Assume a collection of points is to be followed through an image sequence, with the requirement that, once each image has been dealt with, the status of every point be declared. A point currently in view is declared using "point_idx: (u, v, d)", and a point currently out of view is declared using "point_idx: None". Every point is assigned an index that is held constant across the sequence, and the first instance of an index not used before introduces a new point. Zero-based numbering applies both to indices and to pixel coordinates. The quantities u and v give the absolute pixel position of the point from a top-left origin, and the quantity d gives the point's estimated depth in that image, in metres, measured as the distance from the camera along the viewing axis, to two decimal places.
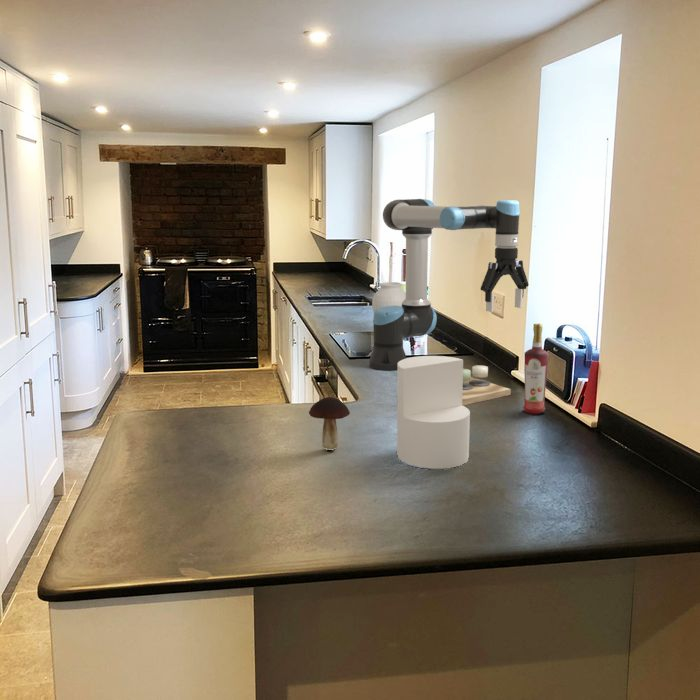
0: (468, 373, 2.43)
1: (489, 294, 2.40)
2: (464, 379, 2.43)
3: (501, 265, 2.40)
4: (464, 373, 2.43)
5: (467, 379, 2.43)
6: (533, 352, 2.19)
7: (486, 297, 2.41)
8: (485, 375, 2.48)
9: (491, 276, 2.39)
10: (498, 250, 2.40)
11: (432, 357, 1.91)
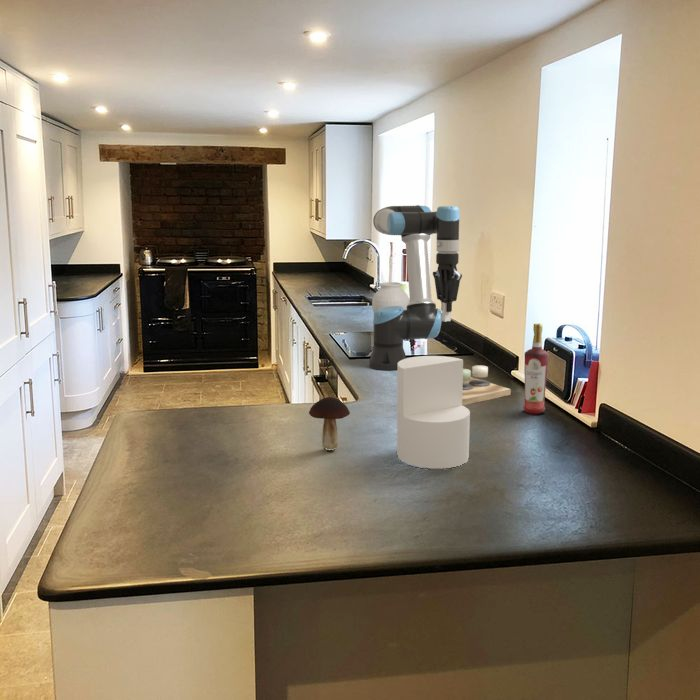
0: (468, 373, 2.43)
1: None
2: (464, 379, 2.43)
3: (438, 269, 2.47)
4: (464, 373, 2.43)
5: (467, 379, 2.43)
6: (533, 352, 2.19)
7: None
8: (485, 375, 2.48)
9: (436, 284, 2.49)
10: None
11: (432, 357, 1.91)
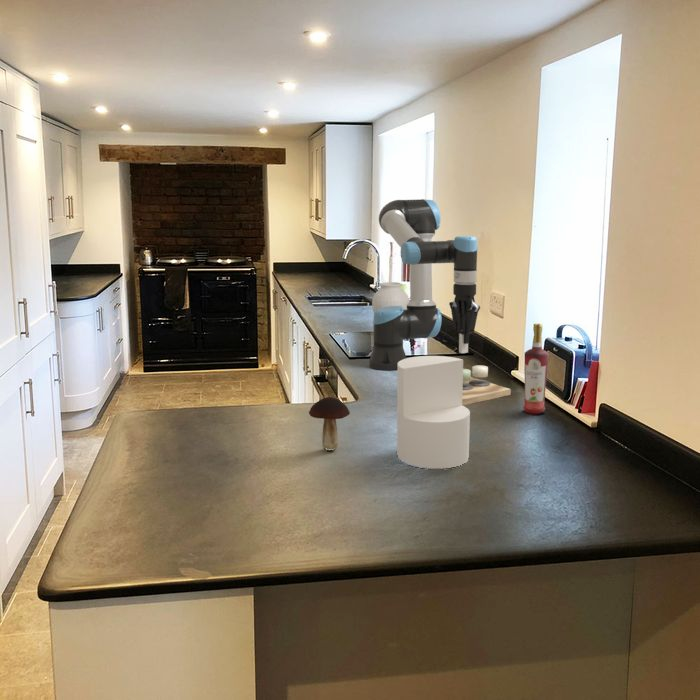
0: (468, 373, 2.43)
1: None
2: (464, 379, 2.43)
3: (455, 300, 2.42)
4: (464, 373, 2.43)
5: (467, 379, 2.43)
6: (533, 352, 2.19)
7: None
8: (485, 375, 2.48)
9: (453, 315, 2.44)
10: None
11: (432, 357, 1.91)
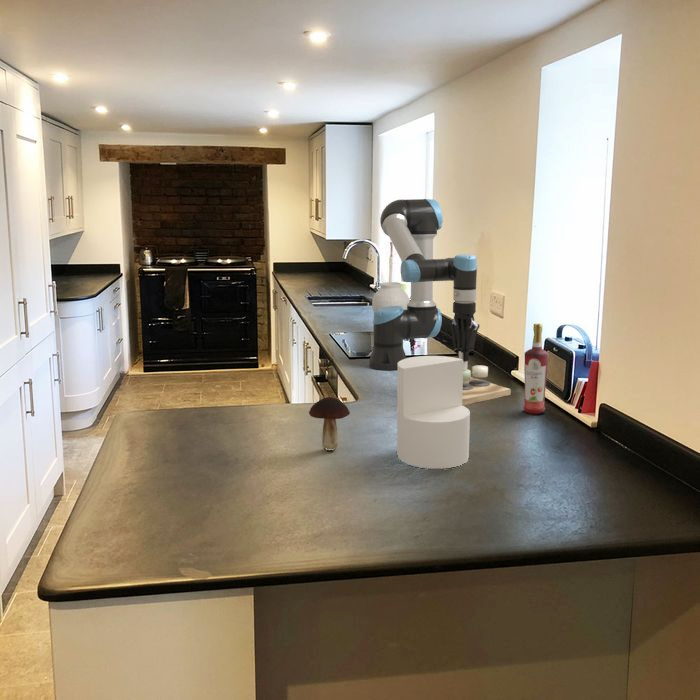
0: (468, 373, 2.43)
1: (459, 352, 2.44)
2: (464, 379, 2.43)
3: (455, 317, 2.43)
4: (464, 373, 2.43)
5: (467, 379, 2.43)
6: (533, 352, 2.19)
7: None
8: (485, 375, 2.48)
9: (452, 332, 2.45)
10: None
11: (432, 357, 1.91)
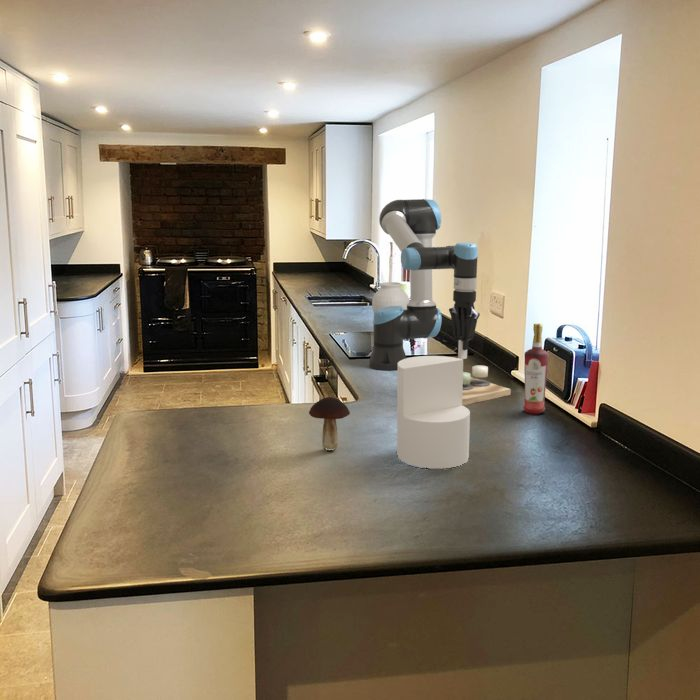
0: (468, 376, 2.43)
1: (458, 341, 2.44)
2: (464, 382, 2.43)
3: (455, 306, 2.42)
4: (464, 376, 2.43)
5: (467, 382, 2.44)
6: (533, 352, 2.19)
7: None
8: (485, 375, 2.48)
9: (452, 321, 2.44)
10: None
11: (432, 357, 1.91)
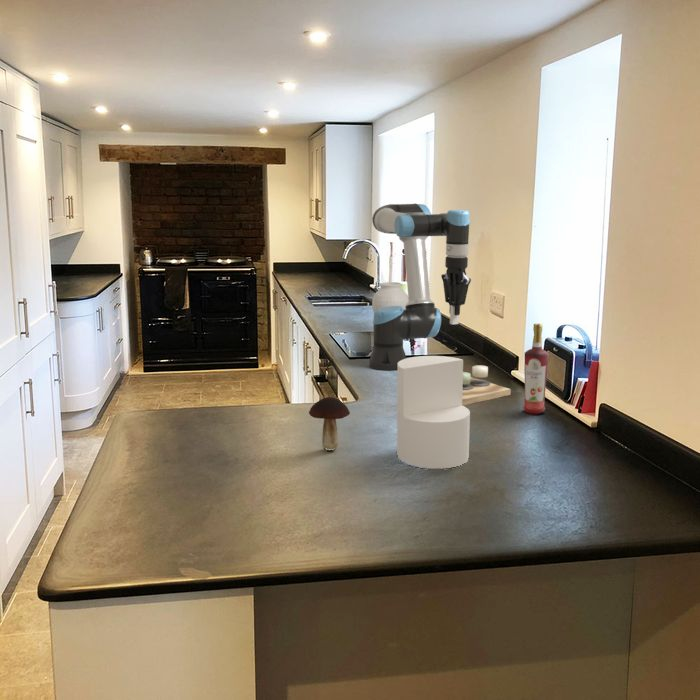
0: (468, 376, 2.43)
1: None
2: (464, 382, 2.43)
3: (447, 272, 2.48)
4: (464, 376, 2.43)
5: (467, 382, 2.44)
6: (533, 352, 2.19)
7: None
8: (485, 375, 2.48)
9: (444, 287, 2.50)
10: None
11: (432, 357, 1.91)
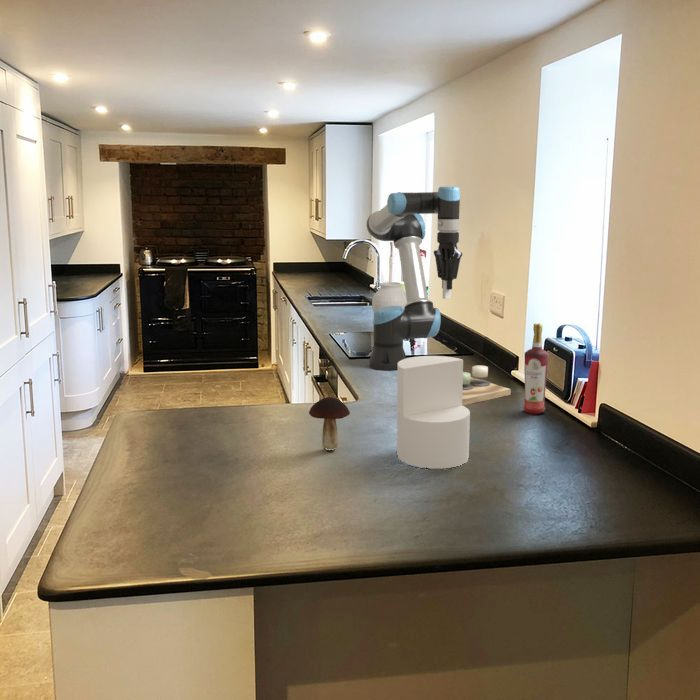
0: (468, 376, 2.43)
1: (443, 281, 2.56)
2: (464, 382, 2.43)
3: (439, 248, 2.55)
4: (464, 376, 2.43)
5: (467, 382, 2.44)
6: (533, 352, 2.19)
7: None
8: (485, 375, 2.48)
9: (437, 262, 2.57)
10: None
11: (432, 357, 1.91)
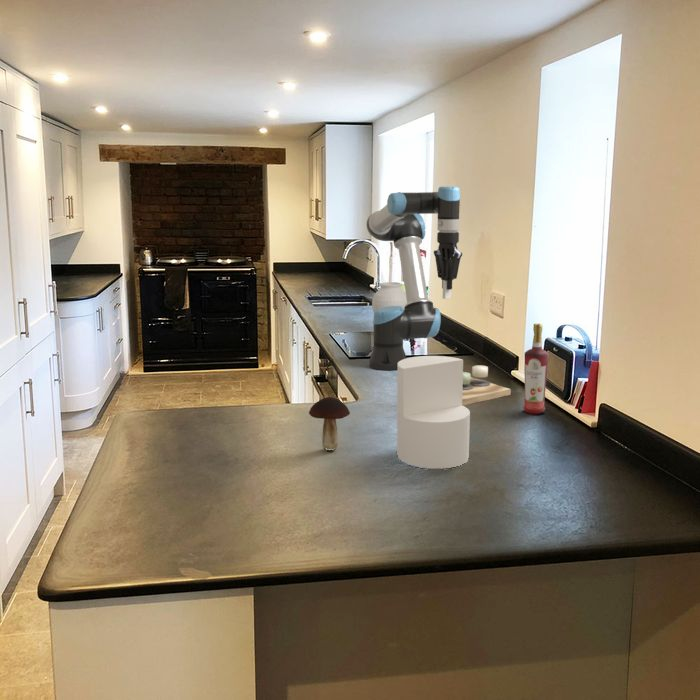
0: (468, 376, 2.43)
1: (443, 281, 2.56)
2: (464, 382, 2.43)
3: (439, 248, 2.55)
4: (464, 376, 2.43)
5: (467, 382, 2.44)
6: (533, 352, 2.19)
7: None
8: (485, 375, 2.48)
9: (437, 262, 2.57)
10: None
11: (432, 357, 1.91)
